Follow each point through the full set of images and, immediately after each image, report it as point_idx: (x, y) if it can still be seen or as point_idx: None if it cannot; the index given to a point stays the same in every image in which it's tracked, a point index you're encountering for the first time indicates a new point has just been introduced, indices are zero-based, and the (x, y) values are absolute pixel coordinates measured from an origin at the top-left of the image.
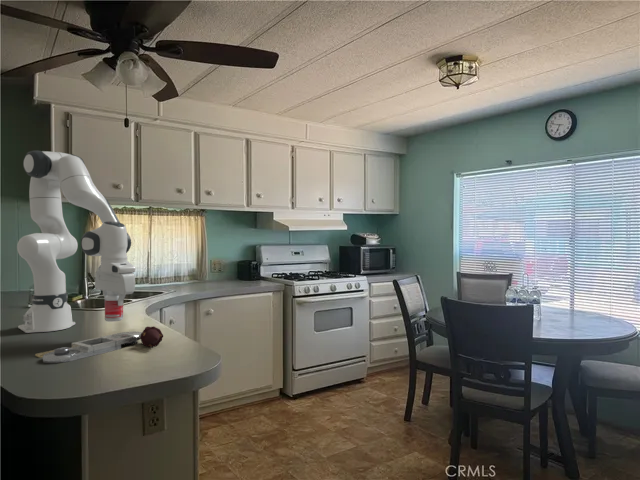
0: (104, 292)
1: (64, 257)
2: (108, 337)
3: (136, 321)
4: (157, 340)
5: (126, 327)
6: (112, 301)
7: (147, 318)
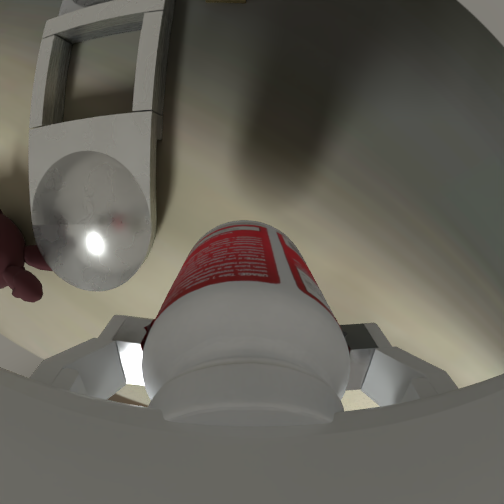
0: (421, 388)
1: None
2: (104, 136)
3: None
4: None
5: None
6: (162, 309)
7: None
